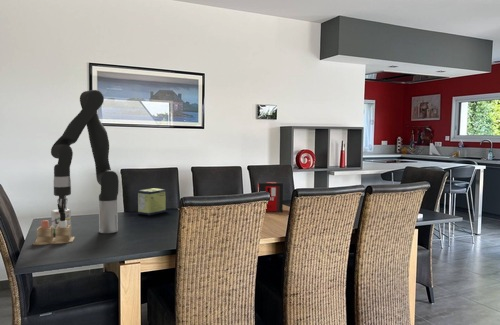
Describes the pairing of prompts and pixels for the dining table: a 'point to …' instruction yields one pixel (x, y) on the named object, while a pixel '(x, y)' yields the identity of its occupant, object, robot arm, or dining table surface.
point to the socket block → (61, 235)
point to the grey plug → (63, 224)
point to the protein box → (151, 201)
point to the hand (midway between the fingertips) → (62, 220)
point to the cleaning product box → (273, 195)
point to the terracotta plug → (45, 224)
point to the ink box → (57, 218)
